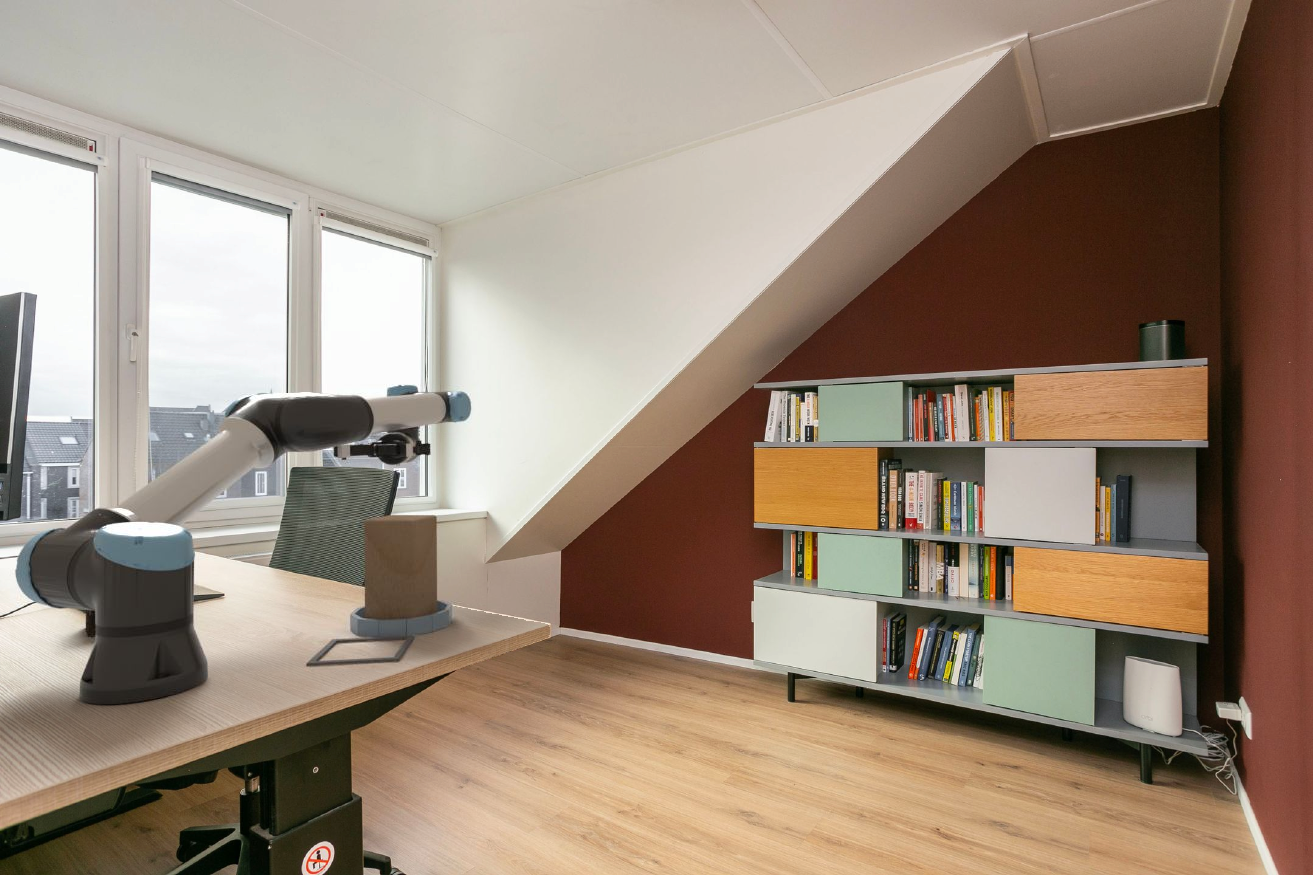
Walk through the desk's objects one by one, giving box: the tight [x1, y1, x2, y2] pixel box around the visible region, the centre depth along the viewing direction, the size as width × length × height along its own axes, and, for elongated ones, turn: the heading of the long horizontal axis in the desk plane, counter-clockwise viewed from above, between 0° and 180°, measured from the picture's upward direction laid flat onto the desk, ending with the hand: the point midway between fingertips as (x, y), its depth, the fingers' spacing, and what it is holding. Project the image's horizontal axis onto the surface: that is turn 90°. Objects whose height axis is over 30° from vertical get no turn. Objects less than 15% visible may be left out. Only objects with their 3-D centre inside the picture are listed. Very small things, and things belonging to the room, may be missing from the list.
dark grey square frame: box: [305, 635, 416, 667], centre depth 121 cm, size 14×14×1 cm
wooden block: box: [363, 514, 438, 620], centre depth 137 cm, size 10×10×20 cm
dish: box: [349, 599, 453, 638], centre depth 138 cm, size 18×18×3 cm
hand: (374, 450), depth 149 cm, fingers open, 13 cm apart
